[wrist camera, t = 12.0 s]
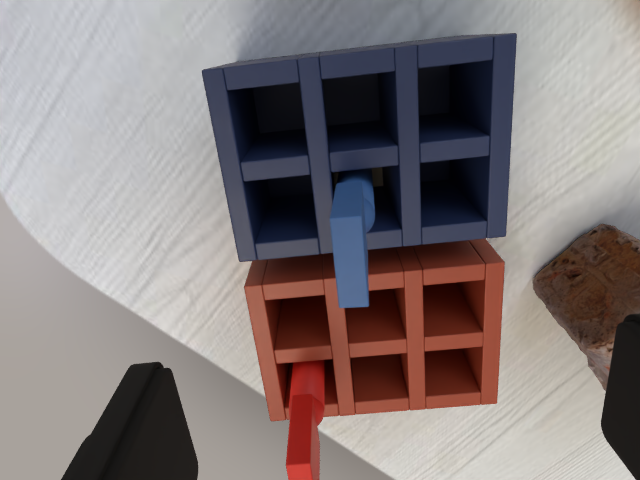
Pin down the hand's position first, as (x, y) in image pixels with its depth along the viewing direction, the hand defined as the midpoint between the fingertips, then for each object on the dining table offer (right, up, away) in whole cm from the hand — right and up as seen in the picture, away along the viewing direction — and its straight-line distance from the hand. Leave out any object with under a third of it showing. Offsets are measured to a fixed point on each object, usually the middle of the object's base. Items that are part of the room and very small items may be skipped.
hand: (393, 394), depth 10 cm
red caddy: (+2, +1, +21) cm, 21 cm away
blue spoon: (+1, +8, +17) cm, 19 cm away
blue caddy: (0, +10, +17) cm, 20 cm away
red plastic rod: (-2, -2, +22) cm, 22 cm away
